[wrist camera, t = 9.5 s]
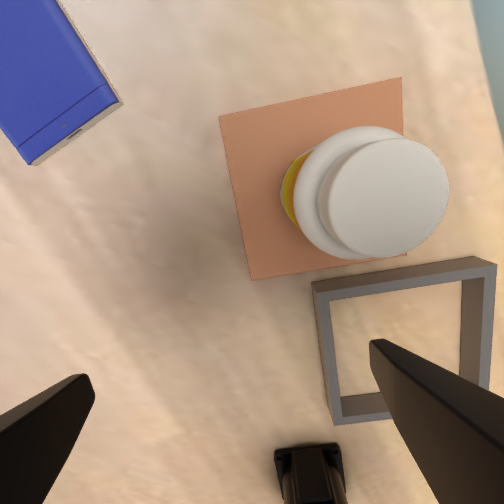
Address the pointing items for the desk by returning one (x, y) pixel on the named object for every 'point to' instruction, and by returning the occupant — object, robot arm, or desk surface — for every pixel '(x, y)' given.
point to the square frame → (466, 269)
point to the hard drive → (47, 79)
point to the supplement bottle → (366, 193)
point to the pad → (282, 155)
